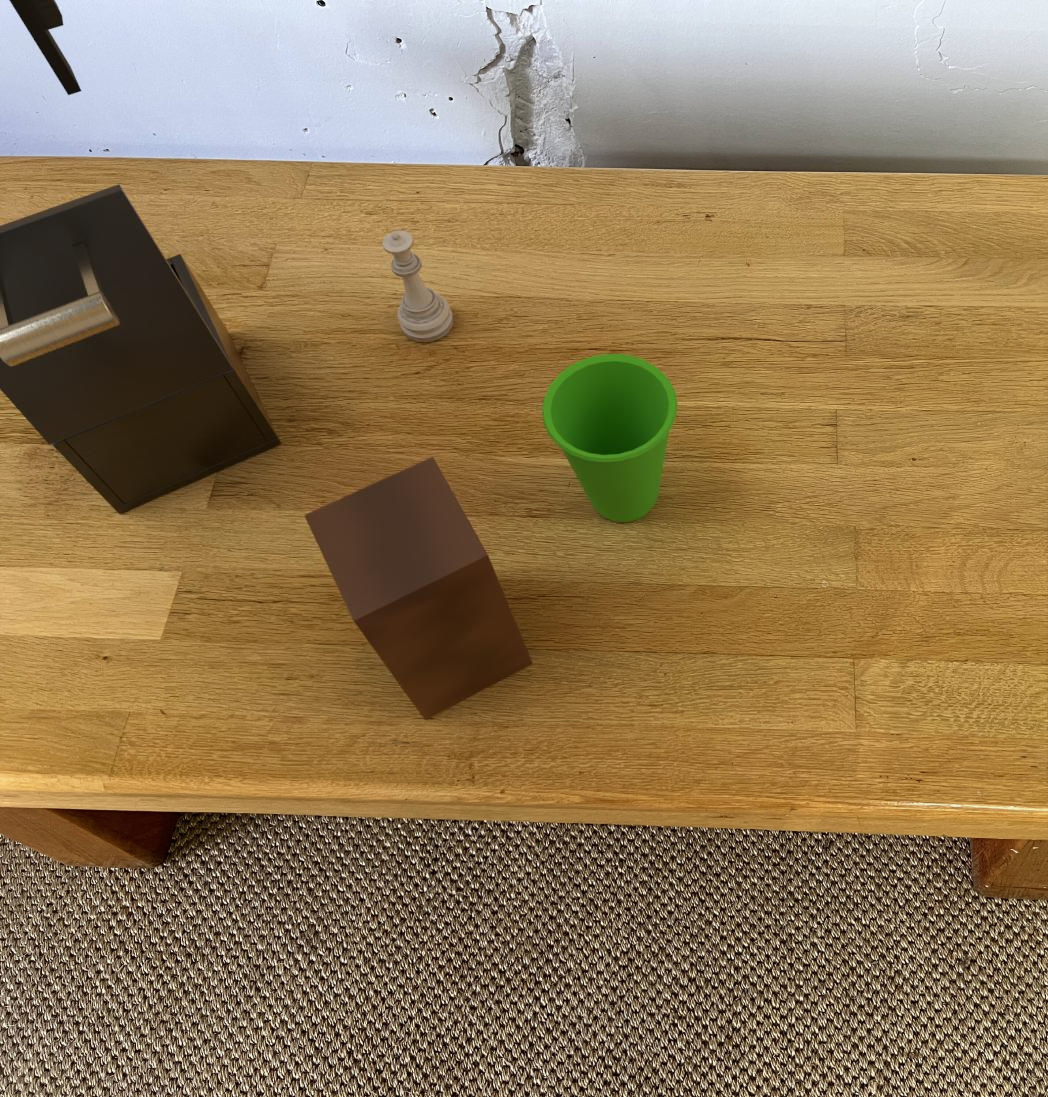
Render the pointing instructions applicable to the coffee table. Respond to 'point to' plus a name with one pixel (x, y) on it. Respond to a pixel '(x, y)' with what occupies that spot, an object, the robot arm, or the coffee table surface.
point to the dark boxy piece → (175, 428)
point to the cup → (613, 430)
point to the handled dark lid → (94, 317)
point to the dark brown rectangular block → (421, 587)
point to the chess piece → (416, 293)
